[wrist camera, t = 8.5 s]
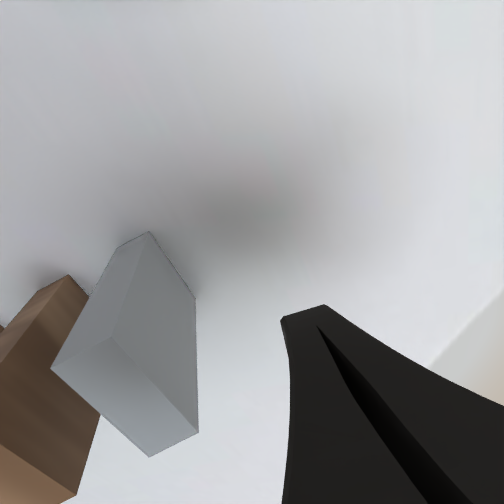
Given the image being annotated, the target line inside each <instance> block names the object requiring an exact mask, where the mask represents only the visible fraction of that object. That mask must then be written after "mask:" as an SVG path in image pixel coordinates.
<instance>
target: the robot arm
mask: <svg viewBox="0 0 504 504" xmlns="http://www.w3.org/2000/svg"><path fill="white" fill-rule="evenodd" d="M280 322H281V327H282V331H283V335H284V340H285V344H286V349H287V353H288V357H289V369H290V421H289V438H288V450H287V461H286V470H285V479H284V488H283V496H282V504H504V406H503V405H500V404H498V403H496V402H494V401H491V400H489V399H487V398H485V397H482V396H480V395H478V394H476V393H474V392H472V391H470V390H468V389H466V388H464V387H462V386H459V385H457V384H455V383H453V382H451V381H449V380H447V379H445V378H443V377H441V376H439V375H437V374H436V373H434V372H432V371H430V370H428V369H426V368H425V367H423V366H421V365H419V364H417V363H416V362H414V361H412V360H410V359H408V358H407V357H405V356H403V355H402V354H400V353H398V352H397V351H395V350H393V349H392V348H390V347H388V346H387V345H385V344H384V343H382V342H380V341H379V340H377V339H376V338H374V337H372V336H371V335H369V334H368V333H366V332H365V331H363V330H362V329H360V328H359V327H357V326H356V325H354V324H353V323H351V322H350V321H348V320H347V319H346V318H344V317H343V316H341V315H340V314H338V313H337V312H336V311H334V310H333V309H331V308H330V307H328V306H327V305H325V304H323V305H320V306H317V307H313V308H310V309H307V310H303V311H300V312H297V313H293V314H290V315H287V316H283V318H282V319H281V320H280Z"/></svg>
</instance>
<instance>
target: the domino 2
mask: <svg viewBox="0 0 504 504" xmlns="http://www.w3.org/2000/svg"><path fill="white" fill-rule="evenodd" d="M50 369H51V370H52V371H54V372H55V373H56V374H57V375H58V376H59V377H60V378H61V379H62V380H64V381H65V382H66V383H67V384H68V385H69V386H70V387H71V388H72V389H73V390H75V391H76V392H77V393H78V394H79V395H80V396H81V397H82V398H83V399H85V400H86V401H87V402H88V403H89V404H90V405H91V406H92V407H93V408H95V409H96V410H97V411H98V412H99V413H100V414H101V415H102V416H103V417H105V418H106V419H107V420H108V421H109V422H110V423H111V424H112V425H113V426H115V427H116V428H117V429H118V430H119V431H120V432H121V433H122V434H123V435H124V436H126V437H127V438H128V439H129V440H130V441H131V442H132V443H133V444H134V445H136V446H137V447H138V448H139V449H140V450H141V451H142V452H143V453H144V454H146V455H147V456H148V457H151V456H153V455H155V454H157V453H159V452H161V451H163V450H165V449H167V448H169V447H171V446H173V445H175V444H177V443H179V442H181V441H183V440H185V439H187V438H189V437H191V436H193V435H195V434H197V433H199V429H198V388H197V347H196V306H195V297H194V296H193V294H192V293H191V291H190V290H189V288H188V287H187V286H186V284H185V283H184V281H183V280H182V278H181V277H180V275H179V274H178V272H177V271H176V270H175V268H174V267H173V265H172V264H171V262H170V261H169V259H168V258H167V256H166V255H165V254H164V252H163V251H162V249H161V248H160V246H159V245H158V243H157V242H156V240H155V239H154V238H153V236H152V235H151V233H150V232H147V233H145V234H143V235H141V236H139V237H137V238H135V239H133V240H131V241H130V242H128V243H126V244H124V245H122V246H120V247H118V248H117V249H116V251H115V253H114V254H113V256H112V258H111V260H110V262H109V263H108V265H107V267H106V269H105V271H104V272H103V274H102V276H101V278H100V280H99V281H98V283H97V285H96V287H95V289H94V290H93V292H92V294H91V296H90V298H89V299H88V301H87V303H86V305H85V307H84V308H83V310H82V312H81V314H80V315H79V317H78V319H77V321H76V323H75V324H74V326H73V328H72V330H71V332H70V333H69V335H68V337H67V339H66V341H65V342H64V344H63V346H62V348H61V350H60V351H59V353H58V355H57V357H56V359H55V360H54V362H53V364H52V366H51V368H50Z"/></svg>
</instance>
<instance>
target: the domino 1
mask: <svg viewBox="0 0 504 504" xmlns="http://www.w3.org/2000/svg"><path fill="white" fill-rule="evenodd" d="M88 299H89V296H88V295H87V294H86V293H85V292H84V291H83V290H82V289H81V288H80V287H79V285H78V284H77V283H76V282H75V281H74V280H73V279H72V278H71V277H70V276H69V275H67V276H65V277H63V278H61V279H59V280H57V281H56V282H54V283H52V284H50V285H48V286H46V287H45V288H43V289H41V290H39V291H37V292H36V293H35V295H34V296H33V297H32V298H31V299H30V300H29V301H28V303H27V304H26V305H25V306H24V307H23V308H22V310H21V311H20V312H19V313H18V314H17V315H16V316H15V318H14V319H13V320H12V321H11V322H10V323H9V324H8V326H7V327H6V328H5V329H4V330H3V331H2V332H1V334H0V504H60V503H62V502H64V501H66V500H68V499H70V498H72V497H74V496H76V494H77V491H78V488H79V485H80V481H81V478H82V475H83V471H84V468H85V465H86V461H87V458H88V455H89V451H90V448H91V445H92V441H93V438H94V435H95V431H96V428H97V425H98V421H99V418H100V415H101V414H100V413H99V412H98V411H97V410H96V409H95V408H93V407H92V406H91V405H90V404H89V403H88V402H87V401H86V400H85V399H83V398H82V397H81V396H80V395H79V394H78V393H77V392H76V391H75V390H73V389H72V388H71V387H70V386H69V385H68V384H67V383H66V382H65V381H64V380H62V379H61V378H60V377H59V376H58V375H57V374H56V373H55V372H54V371H52V370H51V369H50V368H51V366H52V364H53V362H54V360H55V359H56V357H57V355H58V353H59V351H60V350H61V348H62V346H63V344H64V342H65V341H66V339H67V337H68V335H69V333H70V332H71V330H72V328H73V326H74V324H75V323H76V321H77V319H78V317H79V315H80V314H81V312H82V310H83V308H84V307H85V305H86V303H87V301H88Z"/></svg>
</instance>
